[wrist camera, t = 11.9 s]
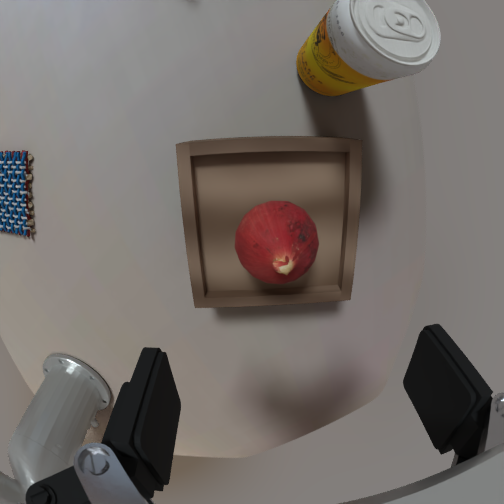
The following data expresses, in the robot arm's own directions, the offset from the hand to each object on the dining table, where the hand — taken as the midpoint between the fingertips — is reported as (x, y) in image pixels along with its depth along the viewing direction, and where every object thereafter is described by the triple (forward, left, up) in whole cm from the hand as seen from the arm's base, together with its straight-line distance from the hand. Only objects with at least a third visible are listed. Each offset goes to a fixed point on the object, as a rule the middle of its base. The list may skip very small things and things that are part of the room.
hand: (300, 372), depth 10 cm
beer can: (+14, -6, -21) cm, 26 cm away
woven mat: (+5, +32, -22) cm, 39 cm away
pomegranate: (0, 0, -16) cm, 16 cm away
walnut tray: (0, 0, -21) cm, 21 cm away
